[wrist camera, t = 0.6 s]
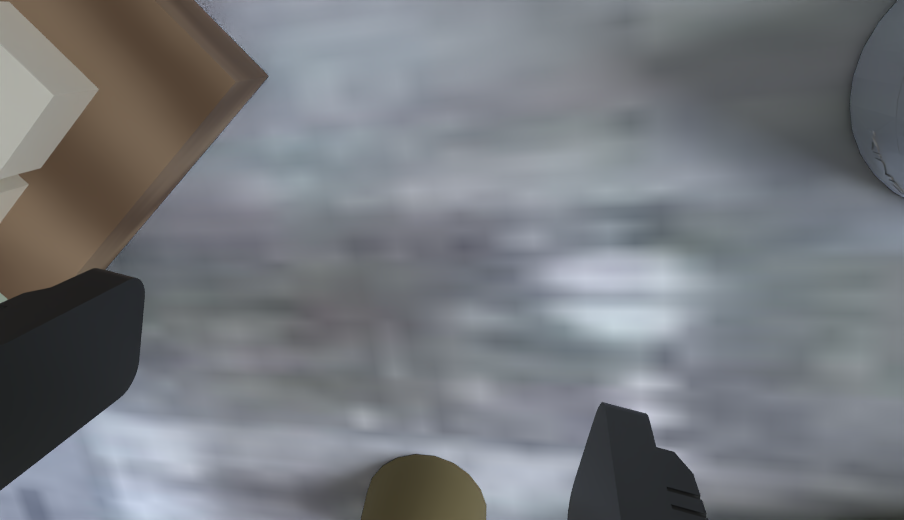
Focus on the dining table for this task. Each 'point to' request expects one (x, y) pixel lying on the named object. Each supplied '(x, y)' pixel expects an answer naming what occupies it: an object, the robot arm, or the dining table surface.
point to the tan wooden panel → (120, 130)
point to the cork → (423, 491)
